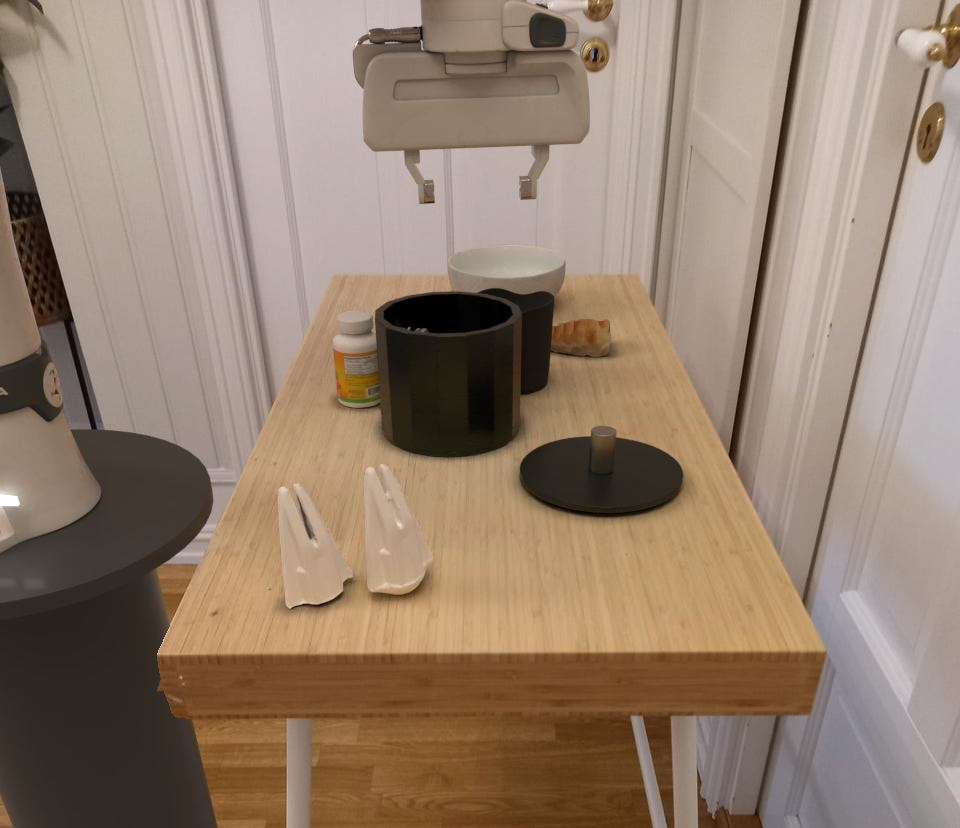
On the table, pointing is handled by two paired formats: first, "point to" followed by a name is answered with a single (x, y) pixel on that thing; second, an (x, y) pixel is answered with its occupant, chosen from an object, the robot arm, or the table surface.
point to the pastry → (582, 337)
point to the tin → (449, 372)
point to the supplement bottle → (356, 360)
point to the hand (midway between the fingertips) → (477, 200)
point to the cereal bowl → (507, 269)
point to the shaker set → (321, 565)
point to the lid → (601, 473)
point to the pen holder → (532, 335)
